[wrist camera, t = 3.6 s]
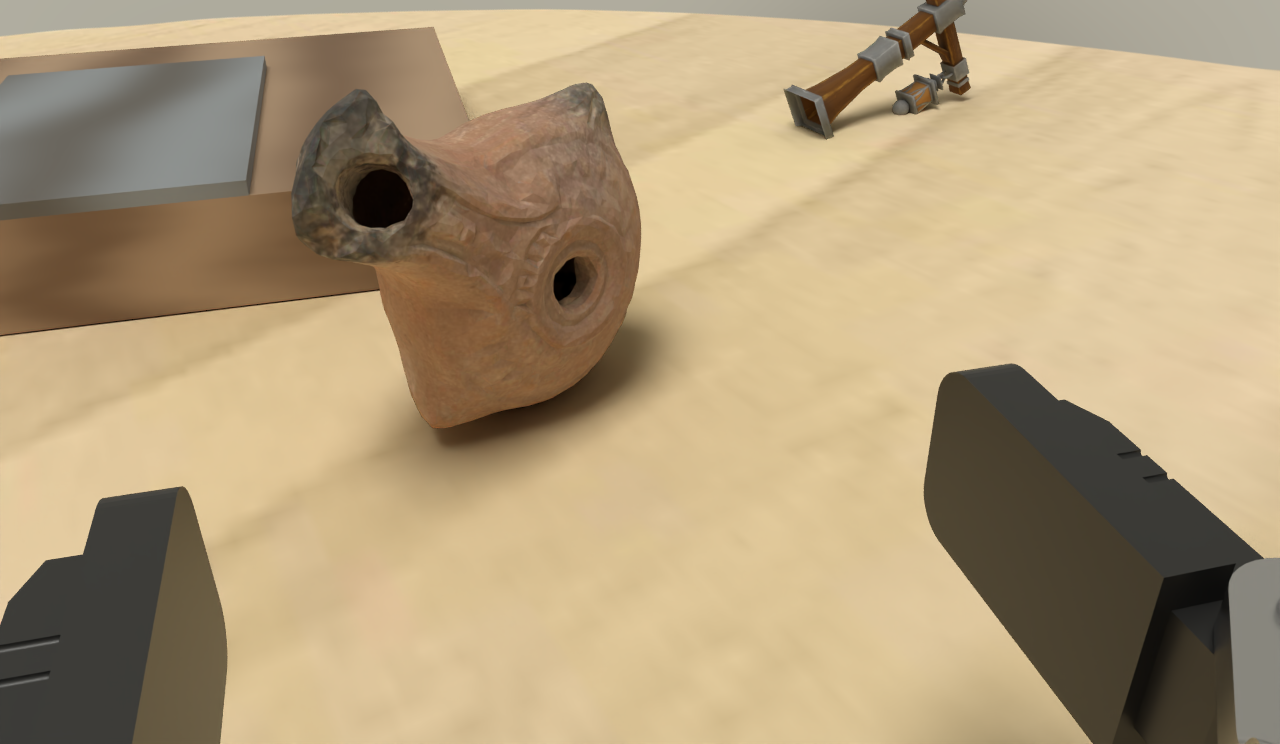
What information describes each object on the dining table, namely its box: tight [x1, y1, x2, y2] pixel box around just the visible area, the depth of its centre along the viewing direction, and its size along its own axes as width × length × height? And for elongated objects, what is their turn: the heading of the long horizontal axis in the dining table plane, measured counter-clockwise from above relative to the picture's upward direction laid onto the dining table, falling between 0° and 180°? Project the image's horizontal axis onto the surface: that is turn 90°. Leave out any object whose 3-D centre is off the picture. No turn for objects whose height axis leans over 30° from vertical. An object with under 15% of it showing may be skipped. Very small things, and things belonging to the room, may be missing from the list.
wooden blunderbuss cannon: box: [784, 0, 971, 139], centre depth 41 cm, size 2×8×4 cm, turn 120°
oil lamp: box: [291, 83, 641, 428], centre depth 22 cm, size 9×4×8 cm, turn 146°
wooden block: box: [0, 27, 469, 335], centre depth 34 cm, size 20×16×3 cm
